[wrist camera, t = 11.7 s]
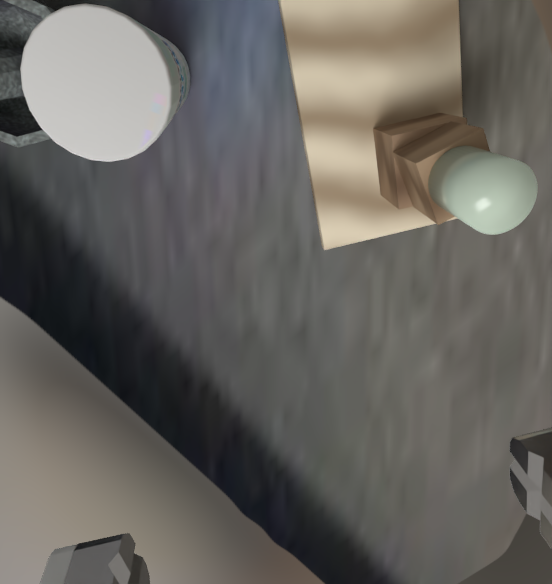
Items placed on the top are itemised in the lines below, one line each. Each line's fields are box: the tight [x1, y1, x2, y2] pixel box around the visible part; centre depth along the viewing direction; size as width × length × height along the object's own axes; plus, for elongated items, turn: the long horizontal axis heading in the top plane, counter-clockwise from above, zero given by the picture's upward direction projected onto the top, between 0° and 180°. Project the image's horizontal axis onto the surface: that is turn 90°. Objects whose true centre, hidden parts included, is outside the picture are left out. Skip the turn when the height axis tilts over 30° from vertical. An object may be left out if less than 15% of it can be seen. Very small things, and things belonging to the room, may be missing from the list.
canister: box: [428, 146, 537, 234], centre depth 32 cm, size 5×5×6 cm
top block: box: [392, 121, 490, 225], centre depth 36 cm, size 5×5×5 cm
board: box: [278, 0, 463, 250], centre depth 42 cm, size 22×14×1 cm, turn 12°
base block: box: [373, 113, 467, 210], centre depth 41 cm, size 6×6×5 cm
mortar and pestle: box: [0, 0, 55, 147], centre depth 33 cm, size 11×9×12 cm
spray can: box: [20, 3, 190, 162], centre depth 30 cm, size 6×6×20 cm
